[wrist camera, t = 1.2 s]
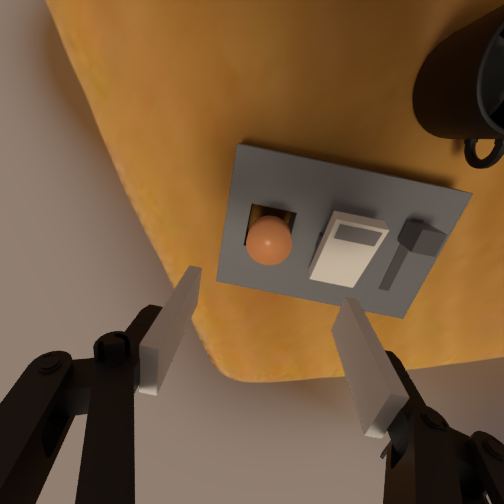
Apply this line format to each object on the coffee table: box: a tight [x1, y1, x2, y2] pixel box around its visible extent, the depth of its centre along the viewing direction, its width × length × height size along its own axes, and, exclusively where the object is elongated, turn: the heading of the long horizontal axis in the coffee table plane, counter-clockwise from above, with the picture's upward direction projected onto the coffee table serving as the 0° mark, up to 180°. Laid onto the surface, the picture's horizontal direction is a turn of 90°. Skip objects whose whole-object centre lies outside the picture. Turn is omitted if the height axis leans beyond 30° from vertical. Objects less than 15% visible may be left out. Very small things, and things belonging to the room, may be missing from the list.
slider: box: [398, 220, 447, 257], centre depth 26 cm, size 2×2×3 cm
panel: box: [216, 143, 473, 319], centre depth 30 cm, size 16×24×5 cm, turn 79°
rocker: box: [309, 211, 389, 288], centre depth 26 cm, size 8×5×2 cm, turn 170°
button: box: [246, 216, 292, 265], centre depth 27 cm, size 4×4×6 cm
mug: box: [413, 5, 504, 169], centre depth 21 cm, size 9×12×9 cm
